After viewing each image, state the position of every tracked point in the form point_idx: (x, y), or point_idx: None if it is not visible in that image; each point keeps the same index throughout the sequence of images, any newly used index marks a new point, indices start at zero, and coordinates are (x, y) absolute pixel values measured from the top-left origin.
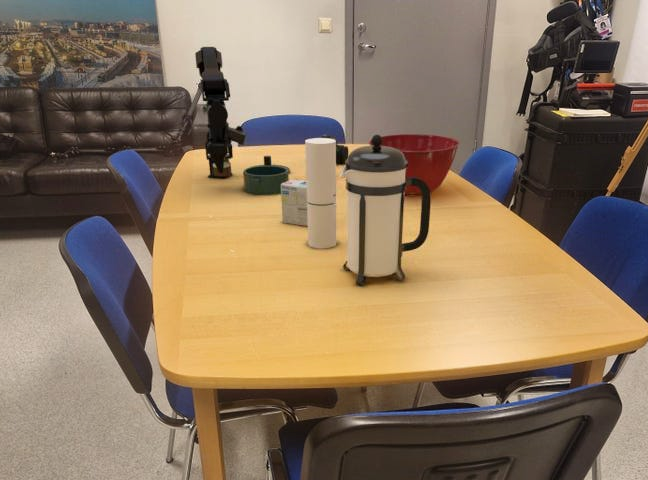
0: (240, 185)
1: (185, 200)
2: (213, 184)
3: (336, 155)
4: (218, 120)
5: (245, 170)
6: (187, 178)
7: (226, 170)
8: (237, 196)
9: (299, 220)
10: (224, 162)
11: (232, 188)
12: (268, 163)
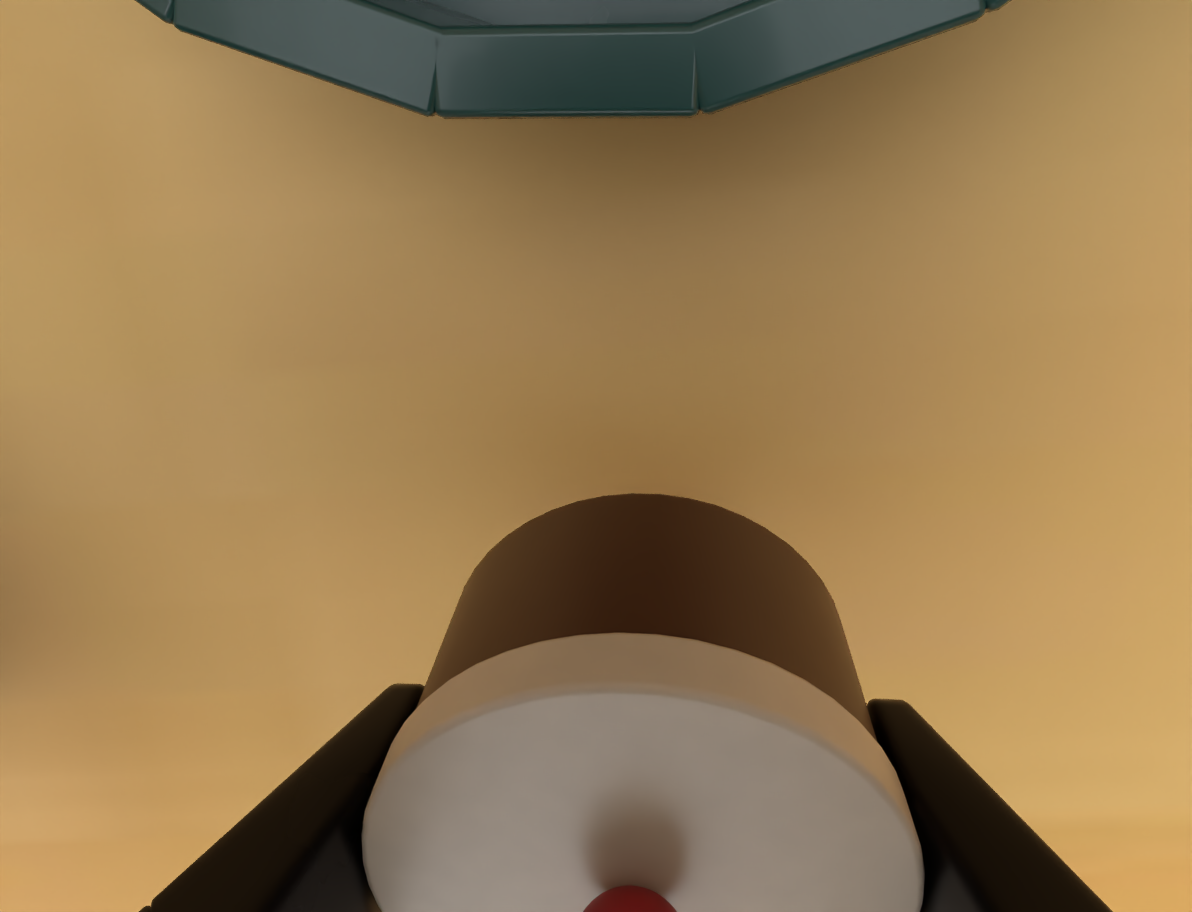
0: (312, 216)
1: (1126, 863)
2: (313, 628)
3: None
4: None
5: (505, 33)
6: (92, 875)
7: (833, 656)
8: (1173, 202)
9: None
10: (419, 829)
11: (540, 347)
12: None
